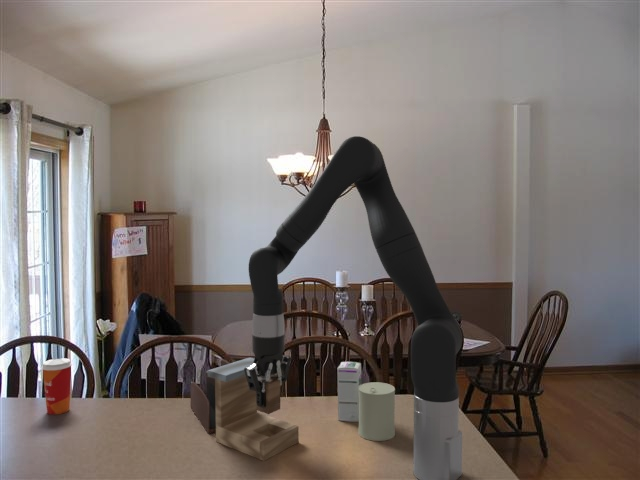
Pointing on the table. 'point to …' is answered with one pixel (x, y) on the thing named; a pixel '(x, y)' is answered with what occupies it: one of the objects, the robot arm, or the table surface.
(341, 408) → the syrup box
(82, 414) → the table surface
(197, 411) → the letter holder
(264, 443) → the socket stand
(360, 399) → the can
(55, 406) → the paper cup
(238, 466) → the table surface
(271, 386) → the peg
